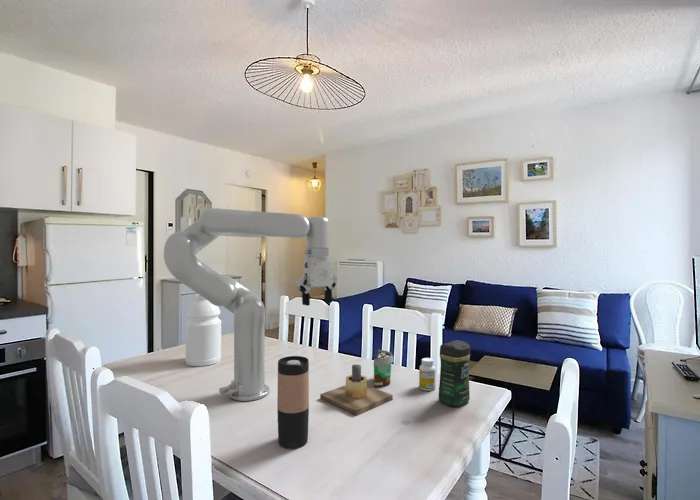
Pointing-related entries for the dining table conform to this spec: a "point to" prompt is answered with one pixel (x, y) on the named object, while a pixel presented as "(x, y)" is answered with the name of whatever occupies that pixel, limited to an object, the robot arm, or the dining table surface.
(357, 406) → the post stand
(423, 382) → the supplement bottle
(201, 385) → the dining table surface
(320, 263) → the robot arm
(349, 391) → the brass collar
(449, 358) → the coffee jar
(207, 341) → the bottle
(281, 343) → the dining table surface
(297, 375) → the travel mug
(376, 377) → the food container
